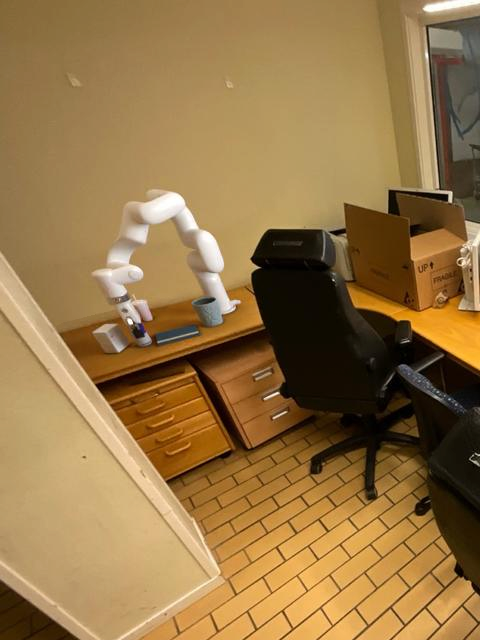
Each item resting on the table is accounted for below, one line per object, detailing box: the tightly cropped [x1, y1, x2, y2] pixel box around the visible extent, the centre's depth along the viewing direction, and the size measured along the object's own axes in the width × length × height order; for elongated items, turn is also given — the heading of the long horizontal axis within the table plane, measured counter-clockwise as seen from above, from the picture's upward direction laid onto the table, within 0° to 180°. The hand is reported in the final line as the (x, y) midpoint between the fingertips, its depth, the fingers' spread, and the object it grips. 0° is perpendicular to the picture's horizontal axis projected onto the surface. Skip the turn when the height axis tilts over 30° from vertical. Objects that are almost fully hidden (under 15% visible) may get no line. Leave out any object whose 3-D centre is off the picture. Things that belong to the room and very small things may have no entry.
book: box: [154, 323, 201, 347], centre depth 185 cm, size 16×12×1 cm
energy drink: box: [123, 318, 153, 347], centre depth 175 cm, size 5×5×12 cm
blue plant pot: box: [191, 296, 224, 328], centre depth 192 cm, size 10×10×12 cm
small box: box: [91, 323, 131, 354], centre depth 172 cm, size 8×6×10 cm
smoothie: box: [130, 293, 154, 322], centre depth 193 cm, size 6×6×14 cm
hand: (140, 333), depth 176 cm, fingers open, 9 cm apart
